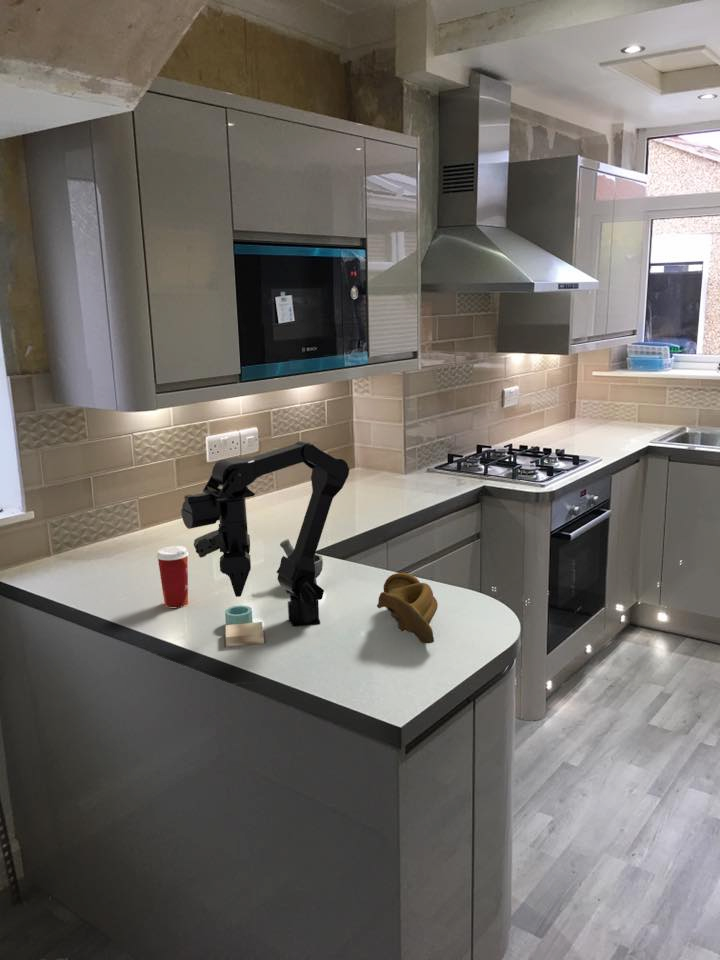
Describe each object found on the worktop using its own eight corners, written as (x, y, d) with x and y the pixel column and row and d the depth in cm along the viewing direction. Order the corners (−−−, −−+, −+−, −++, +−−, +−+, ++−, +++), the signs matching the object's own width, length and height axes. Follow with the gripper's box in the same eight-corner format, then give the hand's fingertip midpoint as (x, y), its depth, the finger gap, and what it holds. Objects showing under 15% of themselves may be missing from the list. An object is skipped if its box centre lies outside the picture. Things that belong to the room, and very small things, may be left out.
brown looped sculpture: (340, 610, 167) (375, 563, 186) (362, 661, 171) (394, 609, 189) (417, 596, 159) (445, 548, 178) (439, 650, 162) (464, 597, 181)
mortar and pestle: (327, 578, 209) (325, 535, 206) (319, 591, 200) (317, 546, 197) (286, 576, 211) (284, 534, 208) (276, 589, 202) (274, 544, 199)
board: (262, 631, 175) (261, 621, 174) (263, 643, 169) (263, 633, 168) (226, 634, 174) (225, 625, 173) (226, 646, 167) (225, 637, 167)
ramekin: (252, 620, 182) (251, 604, 181) (253, 631, 176) (252, 614, 175) (226, 622, 181) (225, 606, 180) (226, 633, 175) (225, 616, 174)
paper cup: (198, 603, 193) (194, 549, 190) (172, 612, 188) (168, 557, 185) (179, 595, 198) (175, 543, 195) (153, 604, 193) (149, 550, 190)
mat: (264, 632, 175) (264, 630, 175) (266, 645, 169) (266, 643, 168) (224, 635, 174) (223, 634, 174) (224, 649, 167) (224, 647, 167)
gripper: (196, 510, 173) (202, 577, 177) (191, 535, 155) (198, 608, 159) (247, 506, 175) (252, 572, 178) (248, 530, 157) (253, 603, 160)
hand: (238, 588), depth 169 cm, fingers open, 9 cm apart
